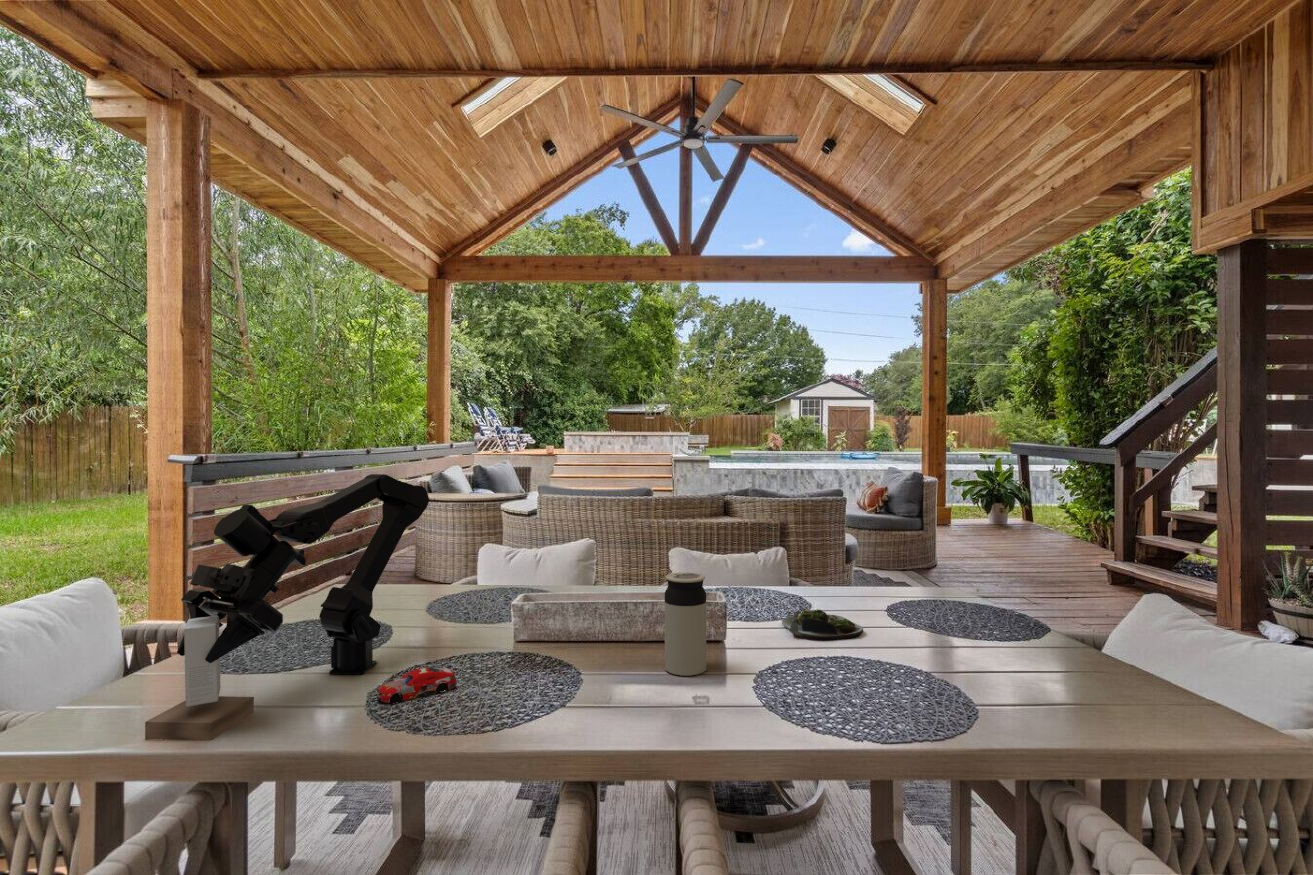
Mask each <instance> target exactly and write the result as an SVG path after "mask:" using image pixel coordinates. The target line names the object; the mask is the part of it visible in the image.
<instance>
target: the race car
mask: <svg viewBox="0 0 1313 875" xmlns="http://www.w3.org/2000/svg"><path fill="white" fill-rule="evenodd" d="M456 685H457V677H456V675H455V673H454V671H453V670H452V669H450V668H446V667H445V668H442V667H441V668H440V667H436V666H435V667H431V666H429V667H422V668H417V669H413V670H411V671H409V672H407V673H405V674H402V677H400V678H397V679H395V680H391V681H388V682H387V683H384V684H382V685H381V686H380V688H378V690H377V694H376V696H377V700H378V701H380V702H381V703H386V704H389V703H391V704H392V703H395V704H397V703H396V702H400V703H401V702H402V701H408V700H411V699H412V700H413V699H416V698H422V697H426V696H430V695H433V693H435V694H437V692H440V691H444V690H447V691H449V689H450V690H452V689H453V688H455V687H456ZM436 691H437V692H436ZM429 694H430V695H429Z"/></svg>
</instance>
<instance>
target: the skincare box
mask: <svg viewBox="0 0 1313 875" xmlns="http://www.w3.org/2000/svg"><path fill="white" fill-rule="evenodd" d="M219 622H220V620H219V616H211V617H202V618H193V619H190V618H189V619H187V622H186V624H185V627H184V630H183V632H184V635H183V636H184V645H185V655H184V682H185V684H184V688H185V691H184V692H185V700H186V706H187V707H188V706H194V705H199V704H205V703H211V702H216V701H218V697H219V696H220V693H221V692H220V691H221V658H219V659H217V660H216V661H214V662H212V663H208V662H207V661H205V658H206V656H207V655H208V653H209V651H210V650H211V648H212V647H213V645H214V644H215V642H216V641H217V639H218V638H219V636H220V628H219Z"/></svg>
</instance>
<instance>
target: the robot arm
mask: <svg viewBox="0 0 1313 875" xmlns="http://www.w3.org/2000/svg"><path fill="white" fill-rule="evenodd" d="M376 499H377V500H378V501H380V502H382V506H381V511H382V518H381V519H382V520H380V523H379V525H378V527H377V529H376V531H375V532H374V534H373V536H372V538H371V540H370V542H369V543H368V545H367V547H366V548H365V551H364V553H363V554H362V556H361V558H360V560H359V561H358V562H357V565H356V567H355V569H354V571H352V574H351V576H350V578H349V579H348V581H347V582H346V583H345V584H344V585H342V586H341V587H337V586H333V587H331V589H329V591H328V594H327V597H326V598H325V599H324V601H323V602H322V604H320V607H321V610H320V612H319V617H318V618H319V619H320V624H321V626H322V628H324V631H325V632H326V635H327V637H328V638H333V639H332V645H331V646H330V667H331V669H330V670H329V671H328V674H329V675H362V674H363V675H364V674H365V673H366V672H367V671H368V670H370V669H371V668H372V667H374V666H375V665H376V664H377V660H375V659H374V660H373V658H374V657H373V653H374V650H373V642H374V639H375V638H377V637H379V635H380V631H381V627H382V626H381V623H379V622H377V621H376V620H375V618H373V617H372V616H371V613H372V610H373V606H374V604H373V603H374V601H373V593H374V590H375V587H376V586H377V584H378V582H379V581H380V578H381V576H382V574H383V572H384V570H385V568H386V567H387V566H388V563H389V561H390V559H391V557H392V555H393V553H395V552H394V551H395V550H396V548H397V547H398V544H399V542H400V540H401V538H402V537H403V534H404V533H405V531H406V529H407V528H409V527H410V526H411V525H412V524H413V523H415V522H416V521H418V520H419V518H421V517H422V515H423V514H424V512H425V511H426V509H427V507H428V506H429V503H430V498H429V494H428V491H427V489H426V488H425V487H424V486H422V485H418V484H417V485H415V484H414V485H413V484H411V483H409V482H404V481H402V480H399V479H397V478H394V477H392V476H390V475H388V474H384V473H371V474H368V475H366V476H365V477H363V479H361V480H358V481H357V482H355V483H353V484H351V485H348V486H347V487H345V488H343V489H341V490H339V491H338V492H336V493H334V494H331V495H329V496H328V497H326V498H324V499H321V500H320V501H317V502H314V503H309V504H304V505H300V506H299V505H298V506H295V507H292V508H289V509H285V510H283V511H282V512H280V513H279V514H278V515H277V516H276V517H275V518H272V519H267V518H265V516H264V515H263V514H261V513H260V512H259V510H258V509H257V507H255V506H254V505H253V504H242V506H241V507H240V508H239V509H236V510H234V511H232V512H230V513H229V514H227V515H226V516H225V517H222V518H221V519H220V520H219V521H218V522H217V523H216V525H215V527H214V530H213V534H214V536H216V538H218V539H219V540H220V541H222V543H224V544H225V545H226V546H228V547H229V548H230V549H232V550H233V551H234V552H235V553H237V555H239V556H240V557H248V556H251V557H250V558H249V560H248V561H247V562H246V563H245V564H244V566H243V567H242V566H240V565H236V564H232V563H226V564H225V565H224V566H223V567H222V568H220V567H216V566H210V565H204V564H203V565H202V564H198V565H197V567H196V569H195V571H194V573H193V576H192V578H191V579H190V580H191V581H190V582H189V585H190V586H195V587H196V586H197V587H198V586H200V587H204V588H209V589H212V590H209V589H203V588H192V589H189V590H188V591H187V592H186V593H185V594H184V596H183V597H182V598H181V599H180V600H181V602H182V603H183V604H185V606H186V609H187V610H188V612H189V613H188V614H189V619H193V618H202V617H211V616H219V629H220V628H221V627H222V626H224V623H222V622H221V620H223V619H225V617H226V626H225V627H224V629H223V631H222V632H221V633H220V634H219V638H218V639H217V641H216V642H215V644H214V645H213V647H212V648H211V650H210V651H209V653H208V655H207V656H206V658H205V661H207V662H208V663H212V662H214V661H216V660H217V659H219V658H220V659H221V658H222V657H224V656H226V655H227V654H229V653H231V652H232V651H234V650H236V649H238V648H239V647H241V646H243V645H244V644H246V643H248V642H250V641H252V640H253V639H255V638H258V637H259V636H264V635H265V633H266V632H270V633H277V632H278V630H279V628H280V627H281V626H282V625H283V623H284V614H283V613H282V612H280V611H279V610H278V609H276V608H275V607H274V606H273V605H271V604H270V603H269V602H268V601H267V600H265V598H266V597H267V596H268V595H269V594H276V593H277V592H278V591H279V587H278V586H277V585H276V584H277V583H278V581H280V579H281V578H282V576H284V574H285V573H286V571H287V570H288V569H289V567H290V566H291V565H297V566H304V567H305V566H306V564H307V561H306V557H305V556H306V555H305V550H304V549H300V548H295V547H294V546H293V545H292V544H290V543H294V544H303V545H305V544H306V545H310V544H313V543H315V542H317V541H318V540H320V539H321V538H322V537H323V536H324V535H326V534H327V533H328V532H330V530H331V528H332V527H333V525H334V523H336V522H337V521H339V519H342V518H344V517H345V516H347V515H348V514H350V513H352V512H354V511H356V510H358V509H360V508H361V507H363V506H365V505H366V504H368V503H370V502H373V501H374V500H376ZM176 654H177V655H179V656H181V657H185V645H184V635H183V636H182V639H181V642H180V644H179V646H178V649H177V651H176Z"/></svg>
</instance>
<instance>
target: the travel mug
mask: <svg viewBox="0 0 1313 875" xmlns="http://www.w3.org/2000/svg"><path fill="white" fill-rule="evenodd" d="M705 578H706V577H705V575H704V574H702V573H698V572H692V571H691V572H689V571H681V572H680V571H679V572H671V573H668V574H667V575H665V579H666V581H667V587H666V590H665V591H664V670H665V671H667V672H668V673H670V674H671V675H675V676H679V675H680V676H679V677H691V676H692V677H693V675H694V676H697V675H700V674H702V673H704V672H706V670H707V592H706V590H705V588H704V586H703V585H704V580H705Z"/></svg>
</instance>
